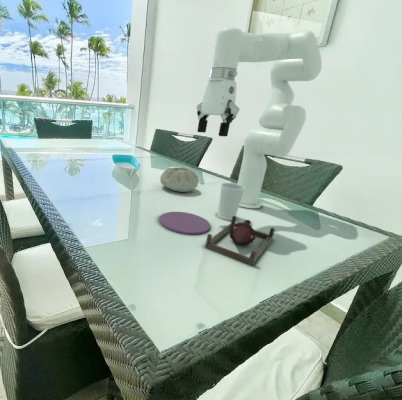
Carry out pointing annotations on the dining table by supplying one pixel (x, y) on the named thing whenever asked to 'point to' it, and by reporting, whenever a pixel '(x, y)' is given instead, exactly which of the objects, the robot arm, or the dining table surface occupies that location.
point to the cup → (229, 200)
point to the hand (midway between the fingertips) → (211, 134)
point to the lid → (184, 223)
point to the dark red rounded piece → (242, 233)
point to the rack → (235, 255)
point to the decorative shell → (179, 179)
